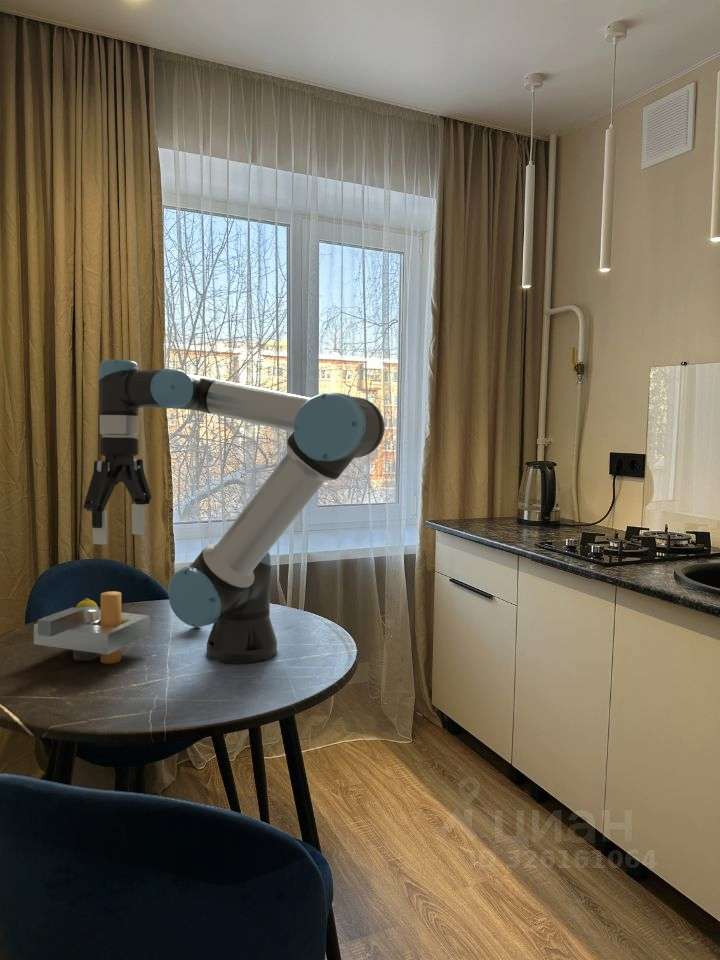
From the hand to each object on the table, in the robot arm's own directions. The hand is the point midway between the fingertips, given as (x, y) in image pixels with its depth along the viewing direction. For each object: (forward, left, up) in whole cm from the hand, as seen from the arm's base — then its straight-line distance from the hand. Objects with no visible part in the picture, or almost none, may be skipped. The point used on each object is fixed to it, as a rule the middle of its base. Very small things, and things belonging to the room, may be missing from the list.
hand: (120, 539), depth 137 cm
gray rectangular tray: (+5, +5, -25) cm, 26 cm away
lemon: (+18, -12, -25) cm, 33 cm away
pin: (+1, +2, -25) cm, 25 cm away
